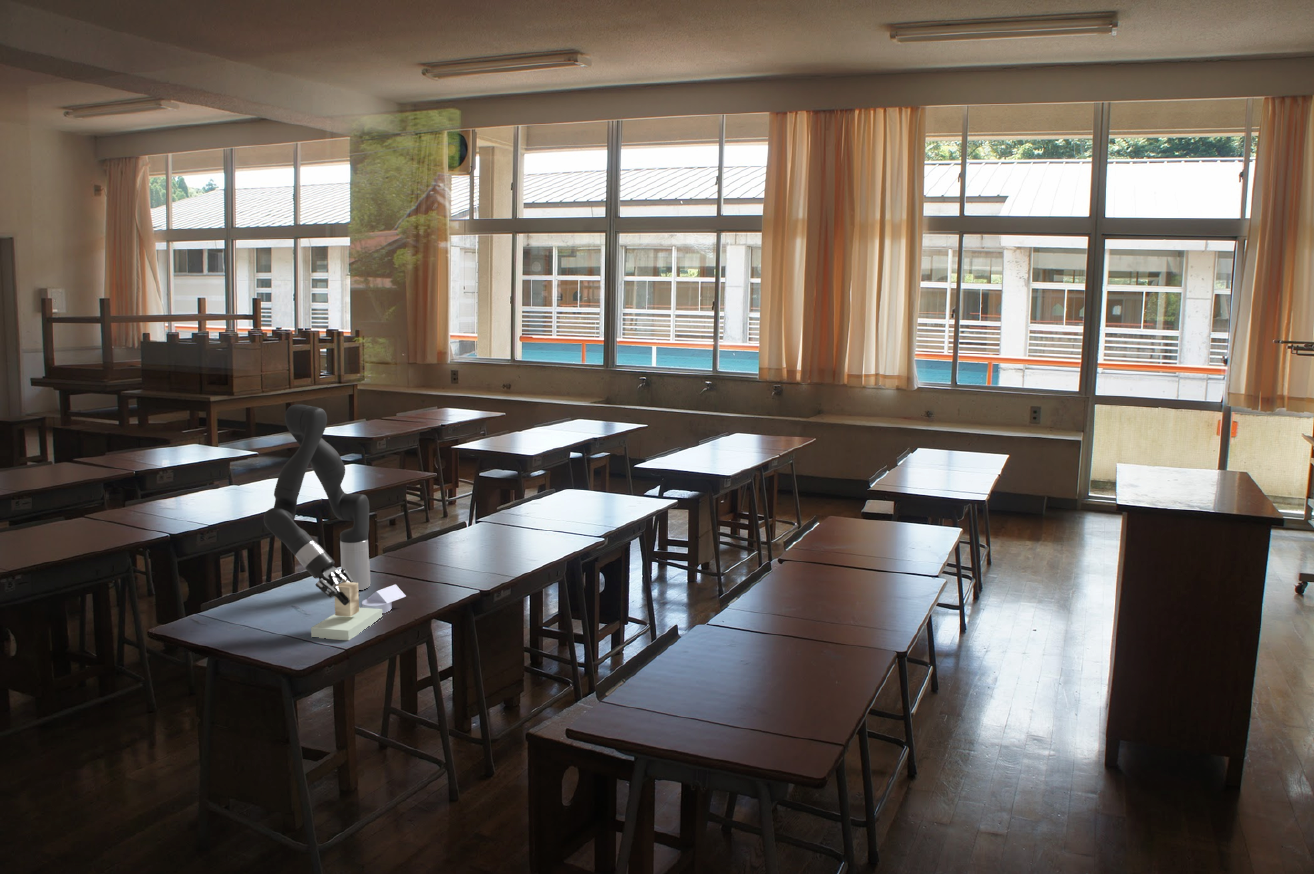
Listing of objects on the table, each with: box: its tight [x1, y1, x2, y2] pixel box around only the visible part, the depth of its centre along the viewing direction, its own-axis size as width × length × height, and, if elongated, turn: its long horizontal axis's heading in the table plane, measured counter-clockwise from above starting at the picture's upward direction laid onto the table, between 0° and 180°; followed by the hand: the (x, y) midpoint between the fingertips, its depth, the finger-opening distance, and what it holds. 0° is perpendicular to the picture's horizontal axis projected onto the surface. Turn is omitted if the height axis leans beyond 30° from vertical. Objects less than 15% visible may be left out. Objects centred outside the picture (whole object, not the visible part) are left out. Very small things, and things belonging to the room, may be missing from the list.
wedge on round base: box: [361, 583, 407, 613], centre depth 291 cm, size 9×7×13 cm
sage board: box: [310, 606, 384, 641], centre depth 275 cm, size 20×12×3 cm, turn 169°
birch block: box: [334, 581, 360, 617], centre depth 274 cm, size 5×5×9 cm
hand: (352, 600), depth 273 cm, fingers closed on birch block, 5 cm apart
